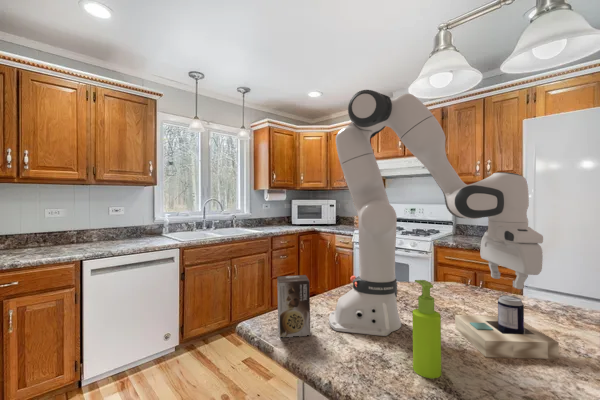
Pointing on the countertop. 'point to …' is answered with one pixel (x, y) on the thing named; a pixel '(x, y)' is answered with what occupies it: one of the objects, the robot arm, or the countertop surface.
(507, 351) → the socket board
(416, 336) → the soap dispenser
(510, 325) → the beverage can
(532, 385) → the countertop surface
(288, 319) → the grey cardboard box
